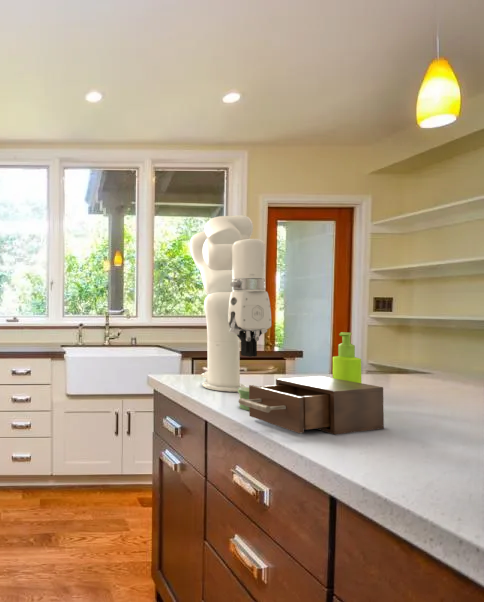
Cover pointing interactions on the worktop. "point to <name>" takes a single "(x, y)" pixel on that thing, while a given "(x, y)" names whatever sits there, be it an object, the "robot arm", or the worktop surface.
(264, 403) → the drawer
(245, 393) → the pot
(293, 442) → the worktop surface
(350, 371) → the soap dispenser
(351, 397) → the cabinet
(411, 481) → the worktop surface
